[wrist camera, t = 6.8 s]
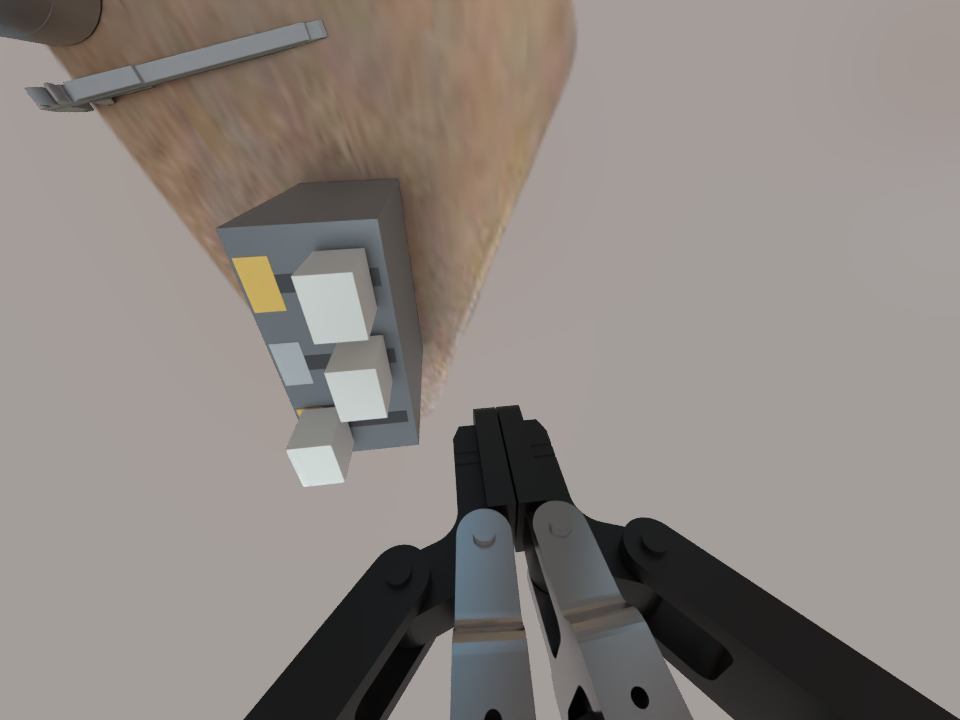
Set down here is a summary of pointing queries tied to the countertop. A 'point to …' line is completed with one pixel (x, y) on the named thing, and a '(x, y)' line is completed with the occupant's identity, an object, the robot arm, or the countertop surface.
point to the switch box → (277, 310)
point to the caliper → (169, 68)
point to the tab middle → (360, 379)
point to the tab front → (336, 295)
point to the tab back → (321, 447)
